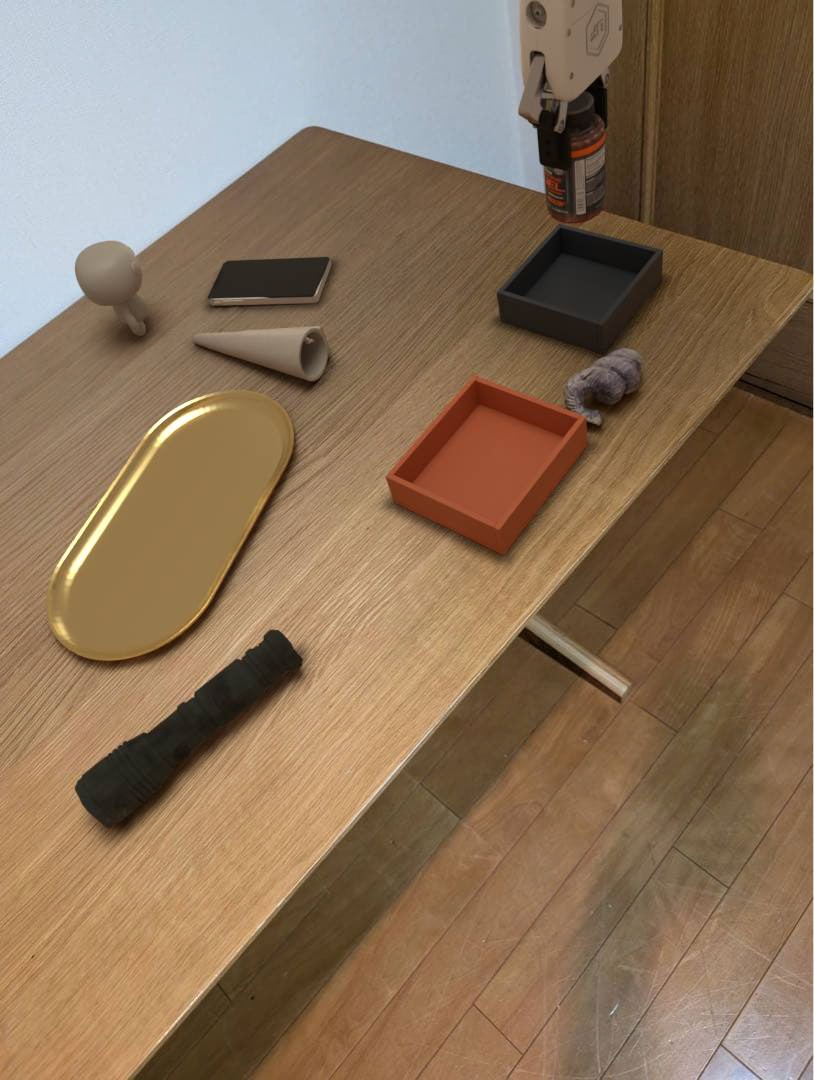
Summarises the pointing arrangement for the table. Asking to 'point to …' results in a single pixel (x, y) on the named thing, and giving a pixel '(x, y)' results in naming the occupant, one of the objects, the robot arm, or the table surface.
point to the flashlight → (182, 731)
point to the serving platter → (169, 526)
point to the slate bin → (580, 287)
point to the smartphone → (270, 281)
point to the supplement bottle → (579, 166)
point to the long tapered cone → (275, 348)
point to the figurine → (113, 281)
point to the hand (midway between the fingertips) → (573, 145)
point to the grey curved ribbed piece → (604, 382)
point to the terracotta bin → (488, 462)
